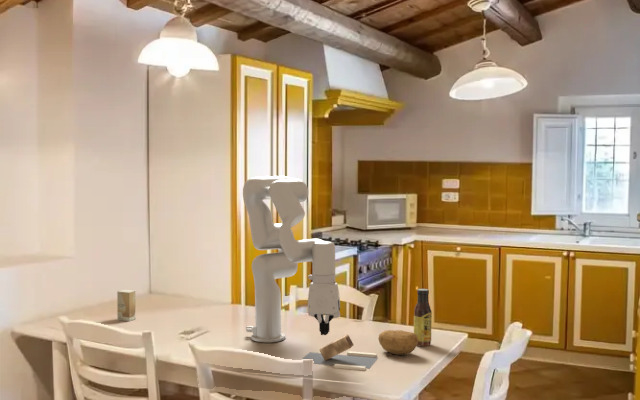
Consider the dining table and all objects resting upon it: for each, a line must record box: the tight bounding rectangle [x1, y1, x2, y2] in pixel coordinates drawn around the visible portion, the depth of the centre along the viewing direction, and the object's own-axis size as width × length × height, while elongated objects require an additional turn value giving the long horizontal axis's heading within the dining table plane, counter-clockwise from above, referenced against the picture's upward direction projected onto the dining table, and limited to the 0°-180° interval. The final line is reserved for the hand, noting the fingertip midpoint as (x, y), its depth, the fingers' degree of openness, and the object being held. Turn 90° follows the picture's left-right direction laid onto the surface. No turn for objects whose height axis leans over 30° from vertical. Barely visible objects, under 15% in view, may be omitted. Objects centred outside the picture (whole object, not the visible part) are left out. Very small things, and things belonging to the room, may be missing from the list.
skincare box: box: [116, 289, 136, 322], centre depth 292 cm, size 6×4×12 cm
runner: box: [301, 350, 379, 371], centre depth 232 cm, size 24×16×1 cm
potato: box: [377, 329, 418, 356], centre depth 239 cm, size 10×14×8 cm
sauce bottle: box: [413, 288, 433, 347], centre depth 250 cm, size 6×6×20 cm
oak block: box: [319, 334, 354, 360], centre depth 232 cm, size 4×4×10 cm
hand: (324, 334), depth 233 cm, fingers closed
